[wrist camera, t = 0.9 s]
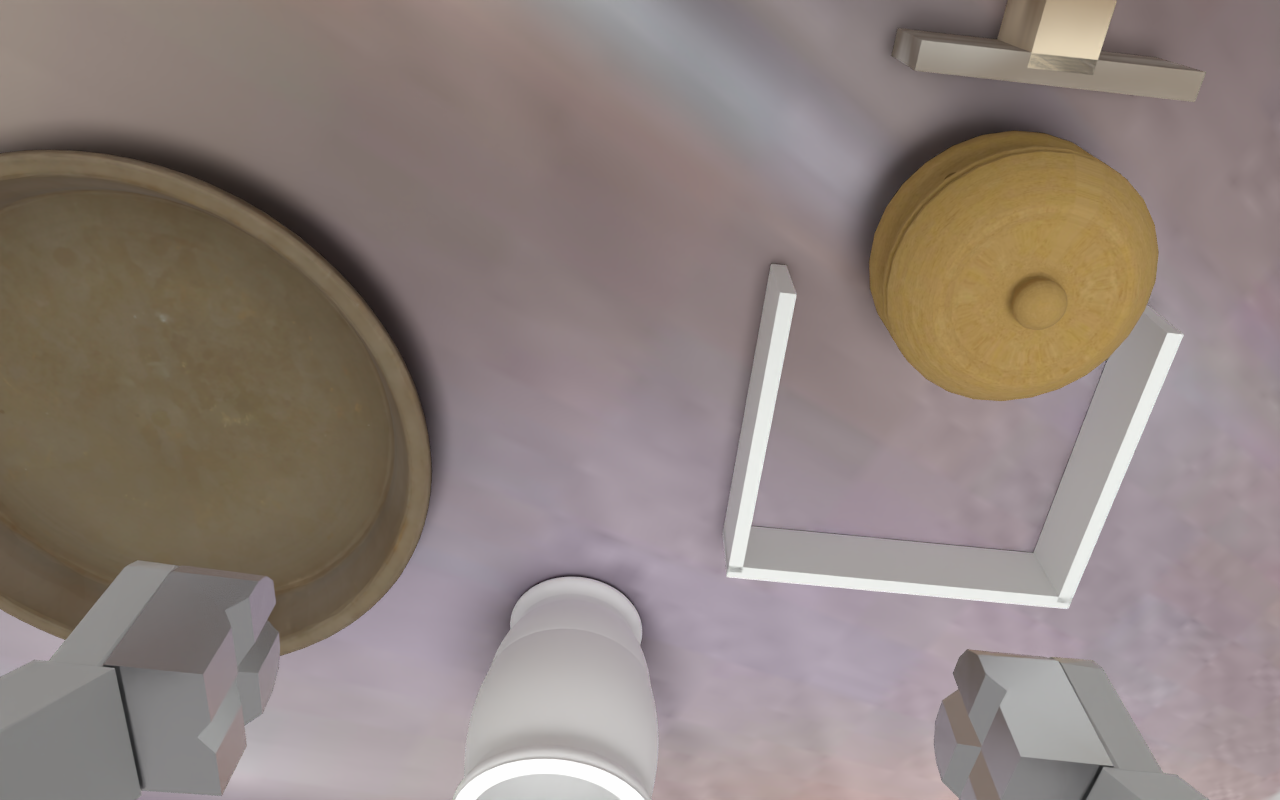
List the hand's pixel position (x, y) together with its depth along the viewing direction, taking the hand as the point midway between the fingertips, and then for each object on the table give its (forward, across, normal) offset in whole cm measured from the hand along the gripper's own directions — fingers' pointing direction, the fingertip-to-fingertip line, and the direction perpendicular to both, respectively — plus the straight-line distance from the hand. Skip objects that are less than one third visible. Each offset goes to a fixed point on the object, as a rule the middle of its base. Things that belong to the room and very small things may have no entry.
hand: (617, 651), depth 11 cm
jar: (+37, +1, +33) cm, 49 cm away
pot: (+37, -17, +5) cm, 41 cm away
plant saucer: (+37, +25, +21) cm, 49 cm away
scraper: (+37, -17, -7) cm, 41 cm away
